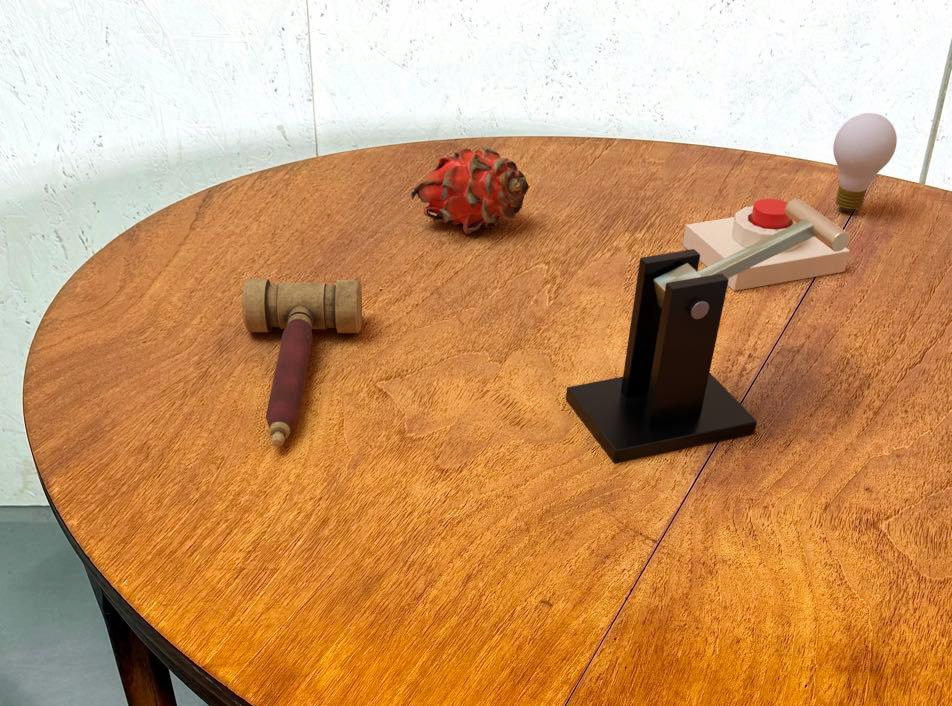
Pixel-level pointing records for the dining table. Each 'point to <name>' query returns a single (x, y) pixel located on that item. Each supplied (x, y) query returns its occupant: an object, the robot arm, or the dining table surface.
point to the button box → (788, 265)
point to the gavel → (297, 335)
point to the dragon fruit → (473, 189)
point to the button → (770, 214)
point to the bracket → (665, 371)
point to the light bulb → (861, 156)
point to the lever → (765, 247)
